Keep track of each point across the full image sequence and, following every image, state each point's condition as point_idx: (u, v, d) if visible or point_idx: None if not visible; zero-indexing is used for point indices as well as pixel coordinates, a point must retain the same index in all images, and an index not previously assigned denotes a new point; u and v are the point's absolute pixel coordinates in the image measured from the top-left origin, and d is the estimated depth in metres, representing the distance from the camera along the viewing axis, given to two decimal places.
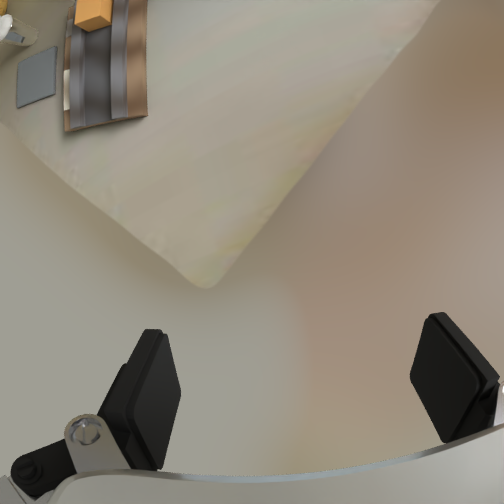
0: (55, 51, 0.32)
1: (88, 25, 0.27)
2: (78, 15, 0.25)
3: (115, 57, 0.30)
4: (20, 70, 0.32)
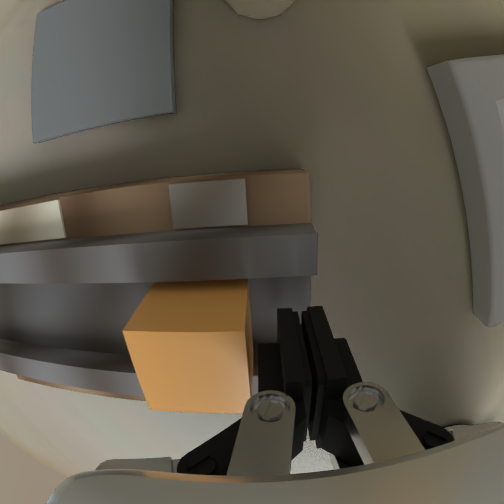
0: (155, 114, 0.12)
1: None
2: (159, 345, 0.09)
3: (80, 376, 0.14)
4: None
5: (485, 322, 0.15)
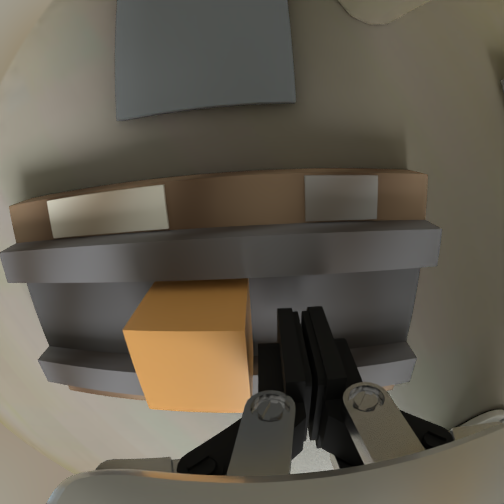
0: (275, 102, 0.12)
1: None
2: (159, 344, 0.09)
3: None
4: None
5: None
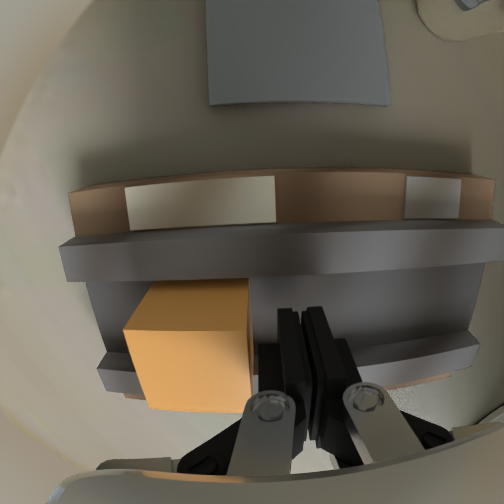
0: (371, 104, 0.12)
1: None
2: (160, 344, 0.09)
3: None
4: None
5: None
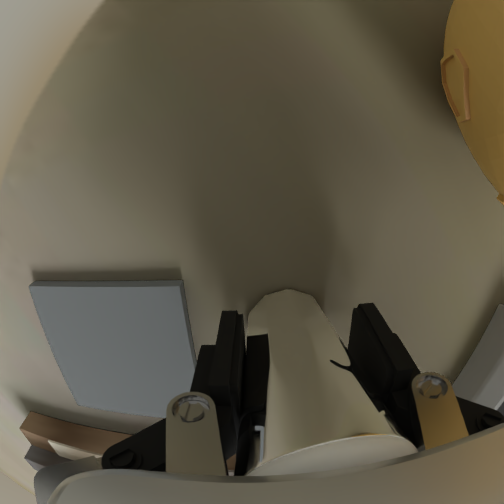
0: None
1: None
2: None
3: None
4: (142, 301, 0.12)
5: None
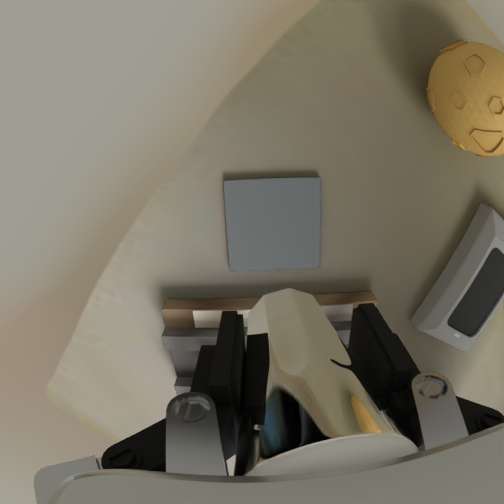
0: None
1: None
2: None
3: None
4: (300, 185, 0.25)
5: (416, 326, 0.29)
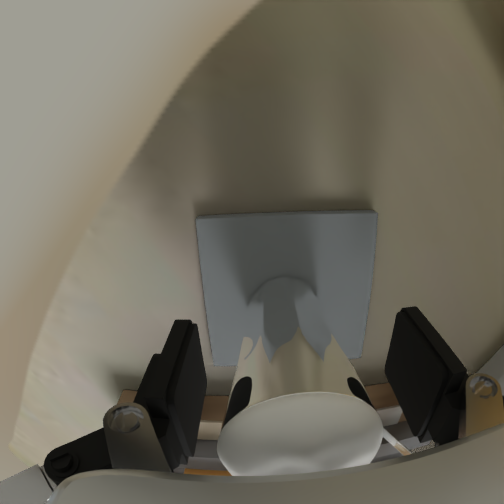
0: None
1: None
2: None
3: None
4: (341, 228, 0.13)
5: None
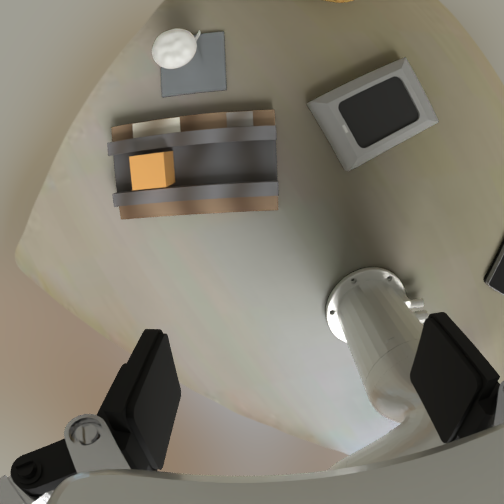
0: (219, 90, 0.34)
1: None
2: (139, 159, 0.31)
3: (175, 193, 0.35)
4: (210, 37, 0.31)
5: None
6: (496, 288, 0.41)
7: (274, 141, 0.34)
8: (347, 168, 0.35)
